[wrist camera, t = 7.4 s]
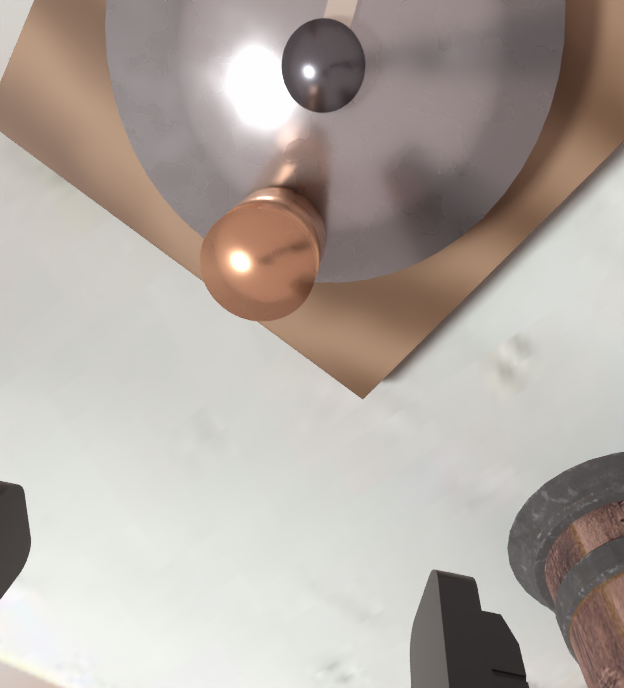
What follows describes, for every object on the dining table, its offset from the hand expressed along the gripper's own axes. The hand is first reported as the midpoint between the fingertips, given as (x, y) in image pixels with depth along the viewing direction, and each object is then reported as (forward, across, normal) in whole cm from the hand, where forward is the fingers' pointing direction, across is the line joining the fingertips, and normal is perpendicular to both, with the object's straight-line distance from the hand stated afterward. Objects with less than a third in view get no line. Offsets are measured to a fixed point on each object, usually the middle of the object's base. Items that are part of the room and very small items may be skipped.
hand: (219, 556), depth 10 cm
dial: (+21, +1, -9) cm, 23 cm away
